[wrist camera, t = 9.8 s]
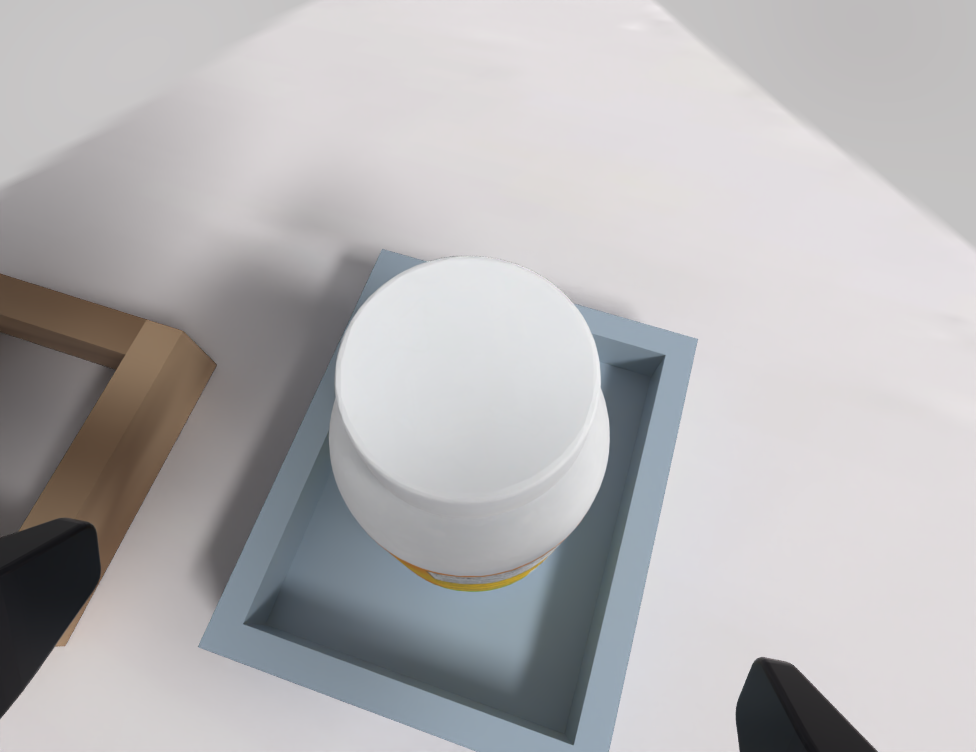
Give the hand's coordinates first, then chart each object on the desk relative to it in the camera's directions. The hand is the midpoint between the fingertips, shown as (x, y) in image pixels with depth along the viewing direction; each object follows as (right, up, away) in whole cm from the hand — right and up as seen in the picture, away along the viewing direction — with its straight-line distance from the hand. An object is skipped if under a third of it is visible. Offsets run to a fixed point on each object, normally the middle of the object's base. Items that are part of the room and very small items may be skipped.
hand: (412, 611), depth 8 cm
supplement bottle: (+1, 0, +10) cm, 10 cm away
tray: (+1, -1, +11) cm, 11 cm away
